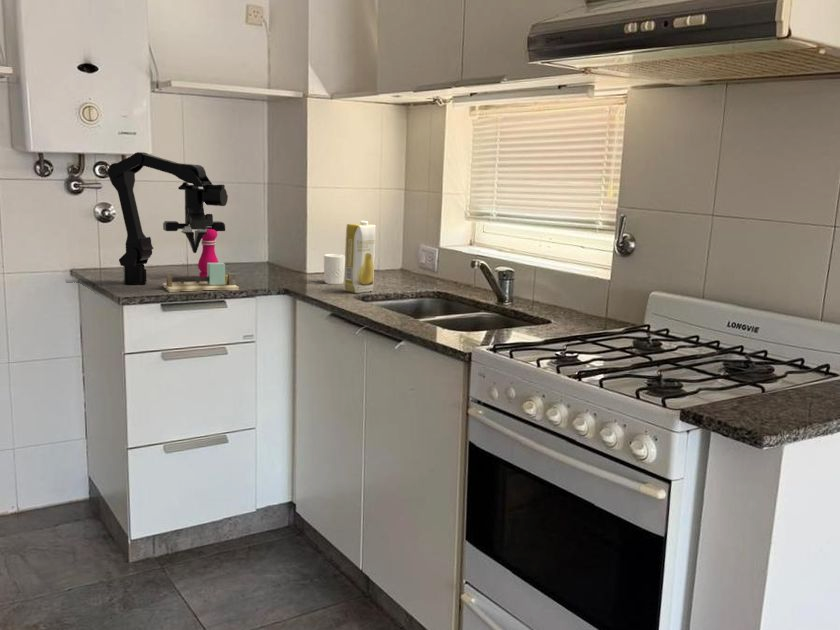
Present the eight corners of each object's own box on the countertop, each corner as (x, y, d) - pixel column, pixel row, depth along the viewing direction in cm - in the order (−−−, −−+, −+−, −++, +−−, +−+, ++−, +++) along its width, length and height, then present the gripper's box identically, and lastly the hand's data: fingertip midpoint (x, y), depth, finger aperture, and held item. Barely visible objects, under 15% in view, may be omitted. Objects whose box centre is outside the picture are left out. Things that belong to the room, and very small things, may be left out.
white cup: (318, 283, 283) (319, 255, 281) (330, 280, 290) (331, 253, 288) (337, 285, 280) (338, 257, 278) (349, 282, 287) (350, 255, 285)
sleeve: (209, 285, 260) (209, 264, 258) (207, 283, 263) (207, 262, 262) (225, 284, 262) (225, 264, 261) (222, 282, 266) (222, 262, 264)
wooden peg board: (169, 292, 250) (169, 277, 249) (162, 286, 261) (162, 272, 260) (238, 290, 260) (238, 276, 260) (229, 284, 271) (229, 270, 270)
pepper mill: (205, 280, 276) (205, 223, 272) (193, 277, 281) (193, 220, 276) (223, 278, 281) (223, 222, 277) (211, 275, 286) (211, 220, 282)
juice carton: (356, 294, 264) (359, 222, 260) (340, 290, 270) (342, 219, 265) (376, 291, 271) (379, 221, 267) (360, 288, 276) (363, 219, 272)
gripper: (168, 205, 243) (169, 256, 246) (229, 206, 252) (229, 255, 255) (162, 203, 253) (163, 252, 256) (221, 204, 261) (221, 251, 264)
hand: (194, 252), depth 257 cm, fingers closed
